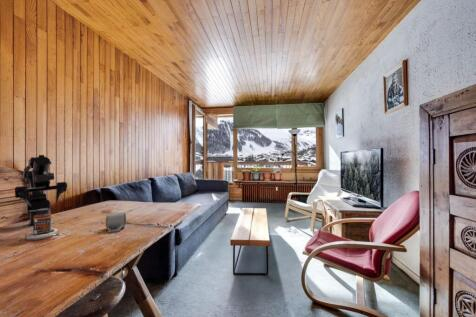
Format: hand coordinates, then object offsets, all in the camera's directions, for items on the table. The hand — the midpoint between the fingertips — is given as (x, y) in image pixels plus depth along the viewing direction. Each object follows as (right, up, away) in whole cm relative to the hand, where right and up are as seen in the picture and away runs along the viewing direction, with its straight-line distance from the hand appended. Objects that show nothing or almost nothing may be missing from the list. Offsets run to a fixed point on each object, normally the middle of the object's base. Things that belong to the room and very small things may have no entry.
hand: (44, 203), depth 101 cm
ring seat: (+5, -13, -6) cm, 15 cm away
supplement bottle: (+4, -13, -6) cm, 15 cm away
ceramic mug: (+32, -13, +4) cm, 35 cm away
